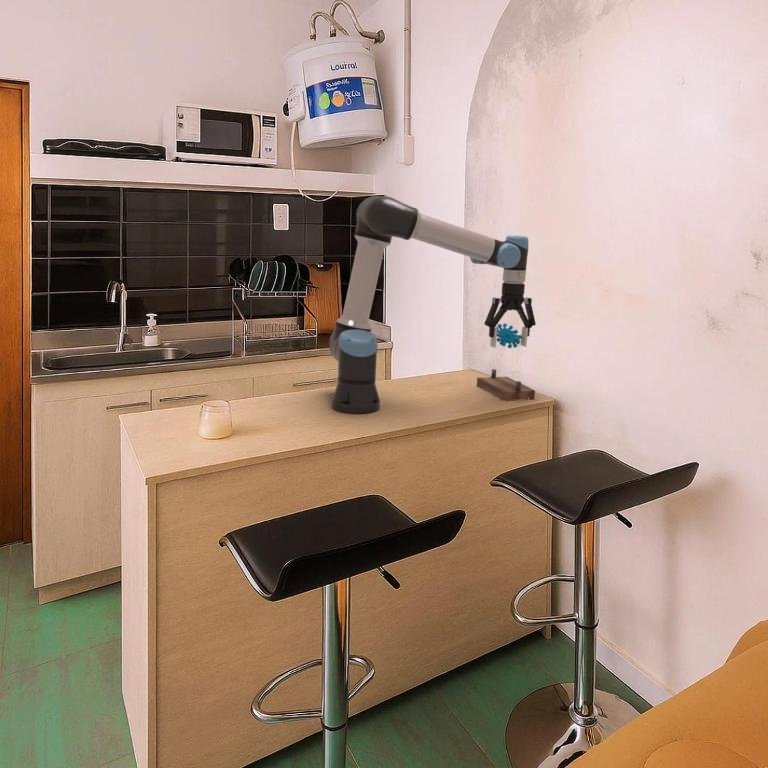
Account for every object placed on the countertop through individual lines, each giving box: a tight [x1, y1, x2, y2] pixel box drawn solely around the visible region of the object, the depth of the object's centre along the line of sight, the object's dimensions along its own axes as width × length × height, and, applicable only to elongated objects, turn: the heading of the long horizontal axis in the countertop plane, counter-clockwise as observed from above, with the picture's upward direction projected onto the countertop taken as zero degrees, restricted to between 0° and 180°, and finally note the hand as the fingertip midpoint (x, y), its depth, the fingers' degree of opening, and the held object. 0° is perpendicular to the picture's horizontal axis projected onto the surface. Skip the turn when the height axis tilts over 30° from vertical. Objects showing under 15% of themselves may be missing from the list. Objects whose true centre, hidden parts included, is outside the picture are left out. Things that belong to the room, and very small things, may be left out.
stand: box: [476, 368, 536, 401], centre depth 236 cm, size 12×20×6 cm, turn 18°
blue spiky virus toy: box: [495, 322, 523, 350], centre depth 233 cm, size 11×6×10 cm
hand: (508, 346), depth 232 cm, fingers closed on blue spiky virus toy, 11 cm apart
